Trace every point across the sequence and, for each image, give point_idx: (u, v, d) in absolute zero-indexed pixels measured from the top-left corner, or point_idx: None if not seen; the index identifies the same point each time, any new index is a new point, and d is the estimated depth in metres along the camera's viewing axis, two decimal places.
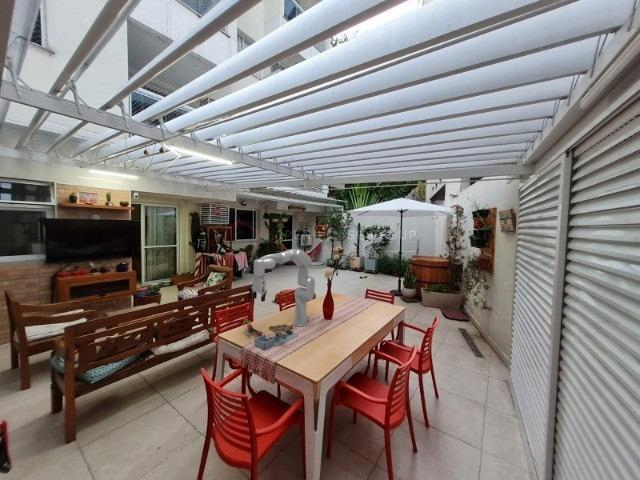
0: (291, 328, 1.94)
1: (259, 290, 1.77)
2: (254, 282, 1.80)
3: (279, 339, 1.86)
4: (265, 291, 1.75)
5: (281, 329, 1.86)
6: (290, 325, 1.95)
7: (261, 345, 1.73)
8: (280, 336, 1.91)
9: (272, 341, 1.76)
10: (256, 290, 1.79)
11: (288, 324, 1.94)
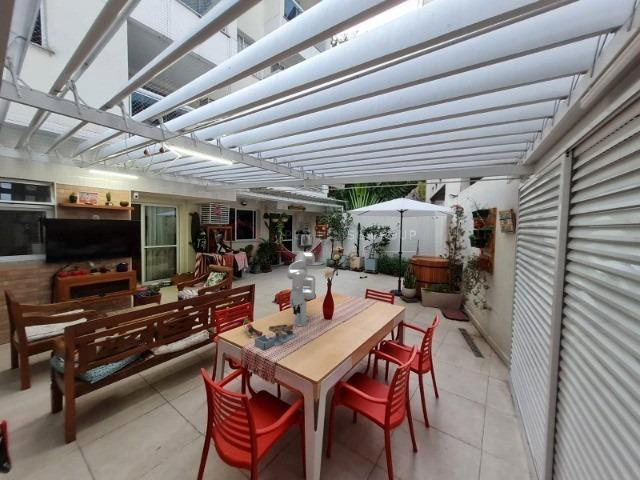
0: (291, 328, 1.94)
1: (302, 300, 1.82)
2: (297, 295, 1.77)
3: (279, 339, 1.86)
4: (303, 302, 1.85)
5: (281, 329, 1.86)
6: (290, 325, 1.95)
7: (261, 345, 1.73)
8: (280, 336, 1.91)
9: (272, 341, 1.76)
10: (299, 302, 1.79)
11: (288, 324, 1.94)
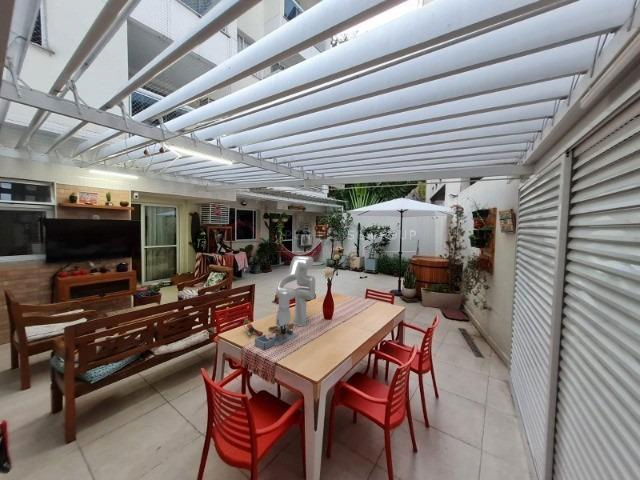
0: (291, 327, 1.94)
1: (289, 320, 1.78)
2: (283, 316, 1.73)
3: (279, 339, 1.86)
4: (288, 323, 1.80)
5: None
6: (290, 324, 1.94)
7: (261, 345, 1.73)
8: (280, 336, 1.91)
9: (272, 341, 1.76)
10: (285, 322, 1.76)
11: None
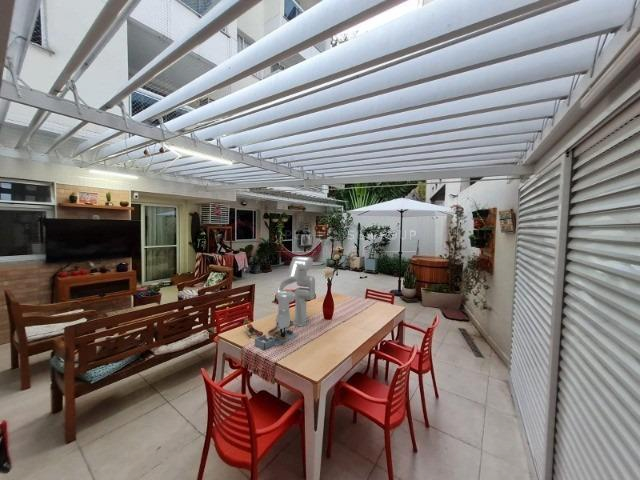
0: (291, 325, 1.94)
1: (288, 323, 1.78)
2: (283, 319, 1.73)
3: (279, 339, 1.86)
4: (288, 326, 1.80)
5: None
6: None
7: (261, 345, 1.73)
8: None
9: (272, 341, 1.76)
10: (285, 325, 1.76)
11: None
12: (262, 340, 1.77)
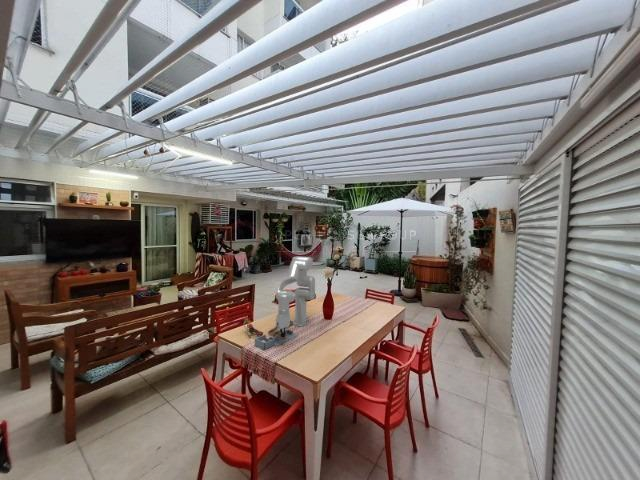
0: (291, 325, 1.94)
1: (288, 323, 1.78)
2: (283, 319, 1.73)
3: (279, 339, 1.86)
4: (288, 326, 1.80)
5: None
6: None
7: (261, 345, 1.73)
8: None
9: (272, 341, 1.76)
10: (285, 325, 1.76)
11: None
12: None
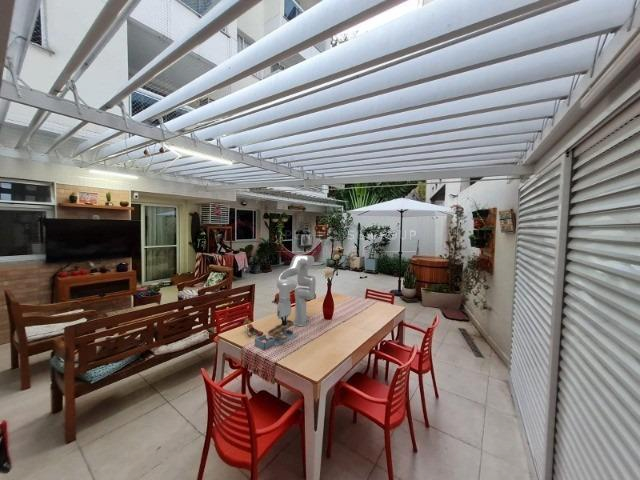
0: (291, 325, 1.94)
1: (289, 311, 1.78)
2: (284, 307, 1.73)
3: (279, 339, 1.86)
4: (289, 314, 1.80)
5: (281, 330, 1.85)
6: None
7: (261, 345, 1.73)
8: None
9: (272, 341, 1.76)
10: (286, 314, 1.76)
11: None
12: (263, 340, 1.77)
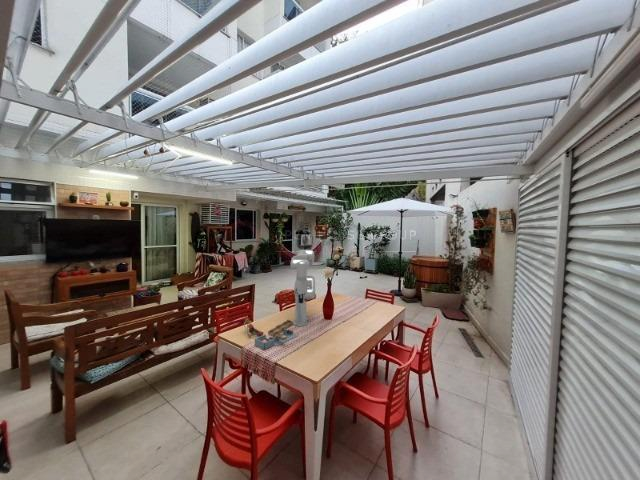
0: (291, 325, 1.94)
1: (306, 290, 1.85)
2: (301, 285, 1.80)
3: (279, 339, 1.86)
4: (305, 293, 1.87)
5: (281, 330, 1.85)
6: None
7: (261, 345, 1.73)
8: None
9: (272, 341, 1.76)
10: (303, 292, 1.82)
11: None
12: None
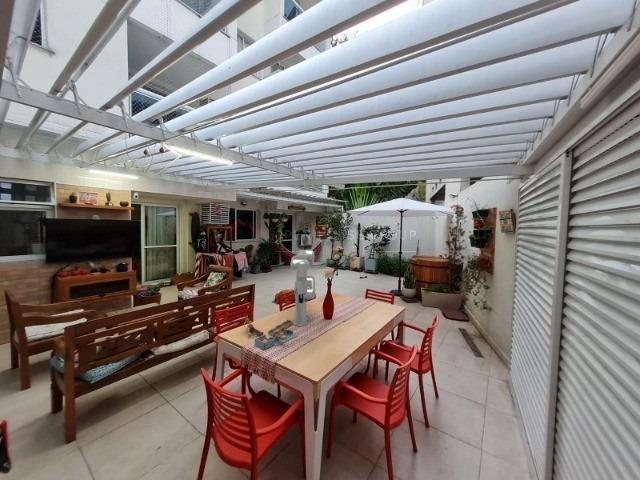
0: (291, 325, 1.94)
1: (306, 290, 1.85)
2: (301, 285, 1.80)
3: (279, 339, 1.86)
4: (306, 293, 1.87)
5: (281, 330, 1.85)
6: None
7: (261, 345, 1.73)
8: None
9: (272, 341, 1.76)
10: (303, 291, 1.82)
11: None
12: (265, 339, 1.79)
